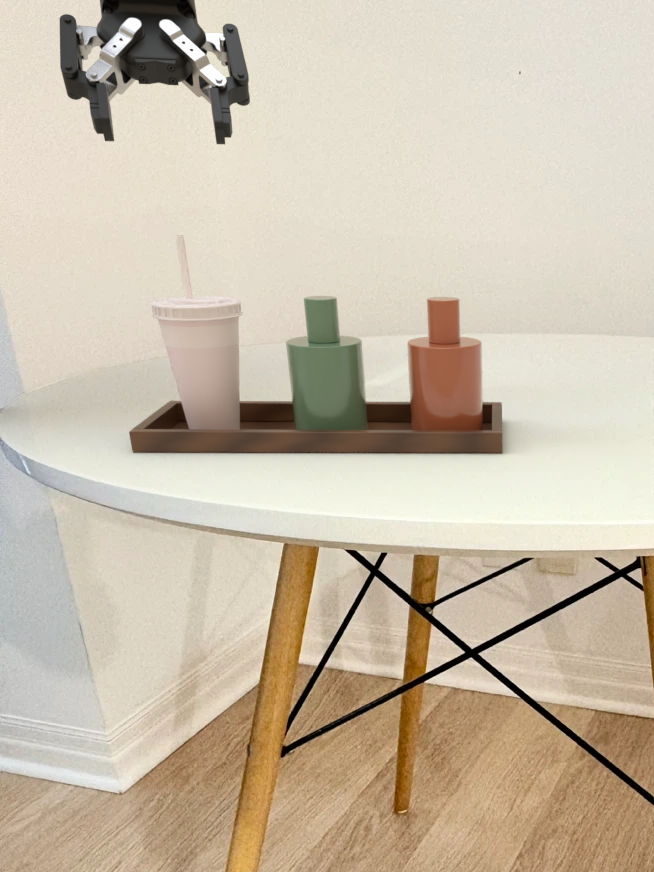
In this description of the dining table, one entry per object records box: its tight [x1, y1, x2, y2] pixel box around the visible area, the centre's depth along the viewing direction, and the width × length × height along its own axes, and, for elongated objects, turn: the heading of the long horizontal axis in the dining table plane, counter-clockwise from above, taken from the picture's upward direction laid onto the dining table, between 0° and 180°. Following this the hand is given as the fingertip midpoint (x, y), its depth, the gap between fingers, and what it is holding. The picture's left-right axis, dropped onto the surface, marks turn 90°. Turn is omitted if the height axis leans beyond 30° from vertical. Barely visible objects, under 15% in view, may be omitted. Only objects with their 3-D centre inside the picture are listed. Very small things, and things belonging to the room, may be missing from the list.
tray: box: [128, 400, 503, 455], centre depth 78 cm, size 27×11×2 cm, turn 92°
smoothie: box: [150, 234, 244, 430], centre depth 75 cm, size 6×6×14 cm
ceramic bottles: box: [285, 295, 484, 430], centre depth 76 cm, size 15×6×10 cm, turn 92°
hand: (165, 134), depth 80 cm, fingers open, 8 cm apart
